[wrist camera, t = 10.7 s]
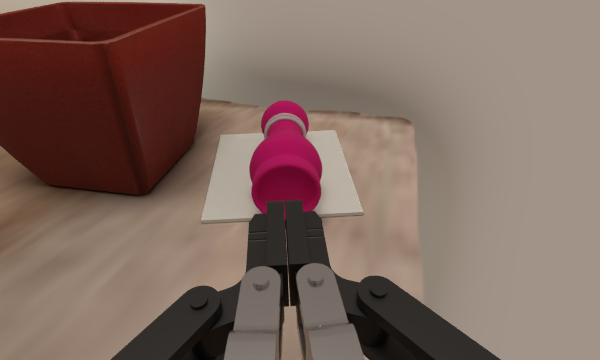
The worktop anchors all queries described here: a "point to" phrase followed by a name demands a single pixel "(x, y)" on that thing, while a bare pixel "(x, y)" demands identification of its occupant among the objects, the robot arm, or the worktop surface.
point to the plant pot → (101, 91)
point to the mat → (237, 183)
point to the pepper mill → (285, 160)
